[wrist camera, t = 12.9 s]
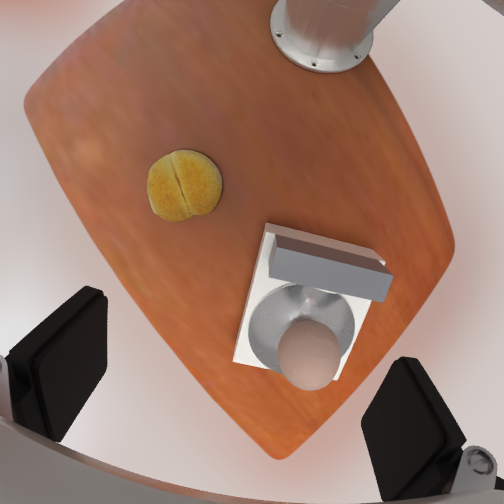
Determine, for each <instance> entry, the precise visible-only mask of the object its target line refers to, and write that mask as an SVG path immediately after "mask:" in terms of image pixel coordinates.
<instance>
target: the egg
mask: <svg viewBox="0 0 504 504" xmlns="http://www.w3.org/2000/svg"><path fill="white" fill-rule="evenodd" d="M340 361H341V350H340V345H339V342H338V340H337V337H336V336H335V334H334V332H333V331H332V330H331V329H330V328H329V327H327V326H326V325H324V324H322V323H320V322H317V321H314V320H305V321H300V322H297V323H295V324H293V325H292V326H291V327H289V328H288V329H287V330H286V331H285V332H284V334H283V335H282V337H281V339H280V342H279V345H278V362H279V366H280V369H281V371H282V373H283V374H284V376H285V377H286V378H287V379H288V380H289V381H290V382H291V383H292V384H293V385H295V386H296V387H298V388H300V389H303V390H308V391H313V390H318V389H321V388H323V387H325V386H326V385H328V384H329V383H330V382H331V381H332V379H333V378H334V376H335V375H336V373H337V371H338V368H339V366H340Z"/></svg>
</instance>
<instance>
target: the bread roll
mask: <svg viewBox="0 0 504 504" xmlns="http://www.w3.org/2000/svg"><path fill="white" fill-rule="evenodd" d="M221 190H222V178H221V174H220V172H219V170H218V168H217V167H216V166H215V164H214V163H213V162H212V161H211V160H210V159H209V158H208V157H206V156H205V155H203V154H201V153H198V152H195V151H192V150H178V151H174V152H172V153H170V154H168V155H165V156H164V157H162V158H160V159H159V160H158V161H157V162H155V163H154V164H153V165H152V167H151V168H150V170H149V172H148V178H147V193H148V195H149V200H150V203H151V207H152V209H153V211H154V213H156V214H158V215H159V216H160V217H161V218H163V219H165V220H167V221H172V222H180V221H184V220H186V219H188V218H190V217H191V216H193V215H206V214H209V213H210V212H211V211H212V210H213V209H214V208H215V206H216V205H217V203H218V201H219V198H220V195H221Z"/></svg>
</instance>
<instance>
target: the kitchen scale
mask: <svg viewBox="0 0 504 504" xmlns="http://www.w3.org/2000/svg"><path fill="white" fill-rule="evenodd" d="M384 265H385V261H384V260H383V259H382V258H381V257H380V256H379V255H378V254H377V253H376V252H375V251H374V250H373V249H369V248H365V247H362V246H358V245H354V244H350V243H346V242H343V241H339V240H335V239H331V238H327V237H323V236H319V235H315V234H311V233H307V232H303V231H299V230H295V229H291V228H287V227H283V226H279V225H275V224H271V223H267V222H266V224H265V228H264V232H263V236H262V240H261V244H260V248H259V252H258V256H257V260H256V264H255V268H254V272H253V276H252V280H251V284H250V288H249V292H248V296H247V300H246V304H245V308H244V311H243V315H242V319H241V323H240V327H239V331H238V335H237V339H236V344H235V350H234V357H233V362H237V363H242V364H246V365H251V366H256V367H261V368H266V369H269V368H268V367H266V366H265V365H264V364H263V363H261V362H260V361H259V360H258V358H257V357H256V356H255V354H254V353H253V351H252V349H251V347H250V343H249V338H248V328H249V322H250V318H251V315H252V313H253V311H254V309H255V307H256V306H257V304H258V303H259V302H260V301H261V300H262V299H263V297H265V296H266V295H267V294H268V293H270V292H271V291H273V290H274V289H276V288H278V287H280V286H283V285H286V284H289V283H296V284H300V285H304V286H309V287H313V288H316V289H318V290H321V291H324V292H327V293H333V294H339V293H340V294H341V295H342V296H343V297H344V299H345V300H346V301H347V303H348V304H349V306H350V308H351V310H352V313H353V316H354V319H355V333H354V337H353V340H352V343H351V345H350V347H349V349H348V350H347V352H346V353H345V354H344V355H343V357H342V358H341V361H340V366H339V368H338V371H337V373H336V375H335V376H334V378H333V379H332V380H337V379H338V377H339V375H340V373H341V371H342V369H343V366H344V364H345V362H346V360H347V358H348V355H349V353H350V351H351V349H352V346H353V344H354V342H355V340H356V337H357V335H358V333H359V330H360V328H361V325H362V323H363V321H364V318H365V316H366V313H367V311H368V308H369V306H370V303H371V301H372V300H373V301H377V302H382V303H384V300H385V298H386V295H387V292H388V290H389V287H390V285H391V282H392V279H393V277H394V275H393V274H392V273H391V272H390V271H389V270H388V269H387V268H386V267H385V266H384Z"/></svg>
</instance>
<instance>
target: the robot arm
mask: <svg viewBox="0 0 504 504" xmlns="http://www.w3.org/2000/svg"><path fill="white" fill-rule="evenodd" d="M399 1H400V0H279V1H278V2H277V3H276V5H275V6H274V9H273V11H272V13H271V19H270V29H271V34H272V38H273V40H274V42H275V44H276V46H277V47H278V49H279V50H280V52H281V53H282V54H283V55H284V56H285V57H286V58H287V59H289V60H290V61H292V62H293V63H294V64H296V65H298V66H300V67H302V68H304V69H307V70H310V71H313V72H318V73H324V74H326V73H339V72H344V71H347V70H349V69H352V68H353V67H355V66H357V65H358V64H359V63H361V62H362V61H363V60H364V59H365V57H366V56H367V55H368V53H369V52H370V49H371V47H372V43H373V29H374V28H375V27H376V26H377V25H378V24H379V23H380V22H381V20H382V19H383V18H384V17H385V16H386V15H387V14H388V13H389V12H390V11H391V10H392V9H393V7H394V6H395V5H396V4H397V3H398V2H399ZM482 1H484V2H485V3H486V4H488V5H489V6H491V7H492V8H493V9H495V10H496V11H497V12H499V13H500V14H502V15H503V16H504V0H482ZM277 35H280V36H281V37H277ZM354 56H356V57H357V58H358V59H356V58H355V57H354ZM312 64H315V65H316V66H315V67H313V66H312ZM107 310H108V299H107V297H106V296H104V294H103V291H102V290H99V289H96V288H92V287H89V286H84V287H83V288H82V289H80V290H79V291H78V292H77V293H76V294H74V295H73V296H72V297H71V298H70V299H68V300H67V301H66V302H65V303H63V304H62V305H61V306H60V307H59V308H58V309H56V310H55V311H54V312H53V313H52V314H50V315H49V316H48V317H47V318H46V319H45V320H44V321H43V322H41V323H40V324H39V325H38V326H37V327H35V328H34V329H33V330H32V331H31V332H30V333H29V334H27V335H26V336H25V337H24V338H23V339H22V340H21V341H20V342H19V343H18V344H16V345H15V346H14V347H13V348H12V349H11V350H10V351H9V354H8V355H7V356H6V357H5V358H3V356H1V355H0V504H303V503H286V502H274V501H264V500H255V499H248V498H240V497H234V496H228V495H222V494H216V493H211V492H206V491H200V490H196V489H191V488H187V487H183V486H179V485H175V484H171V483H167V482H163V481H160V480H156V479H152V478H149V477H146V476H142V475H139V474H136V473H133V472H130V471H126V470H124V469H121V468H118V467H115V466H112V465H110V464H107V463H104V462H102V461H99V460H97V459H94V458H92V457H89V456H86V455H84V454H81V453H79V452H77V451H74V450H72V449H69V448H67V447H65V446H63V445H61V444H58V443H59V442H61V441H62V439H63V438H64V436H65V434H66V433H67V431H68V430H69V428H70V426H71V425H72V423H73V422H74V420H75V419H76V417H77V415H78V414H79V412H80V410H81V409H82V407H83V406H84V404H85V403H86V401H87V400H88V398H89V397H90V395H91V394H92V392H93V391H94V389H95V388H96V386H97V384H98V383H99V381H100V380H101V378H102V377H103V375H104V374H105V372H106V369H107V312H108V311H107ZM361 427H362V431H363V434H364V437H365V441H366V444H367V448H368V451H369V455H370V458H371V462H372V466H373V469H374V473H375V476H376V480H377V484H378V487H379V492H380V495H381V499H382V501H383V502H379V503H362V504H504V479H502V478H500V477H498V476H496V475H497V463H496V460H495V458H494V457H493V455H492V454H491V453H490V452H489V451H487V450H486V449H484V448H482V447H479V446H469V447H467V448H466V449H465V450H464V451H463V450H462V448H461V447H462V445H463V444H464V443H465V442H466V438H465V436H464V434H463V432H462V431H461V429H460V427H459V426H458V424H457V423H456V420H455V419H454V417H453V415H452V413H451V412H450V410H449V408H448V407H447V405H446V403H445V402H444V400H443V398H442V397H441V395H440V394H439V392H438V391H437V389H436V387H435V385H434V384H433V382H432V381H431V379H430V378H429V376H428V374H427V373H426V371H425V370H424V368H423V366H422V365H421V363H420V362H419V360H418V359H416V358H411V357H400V358H399V359H398V360H395V361H394V362H393V364H392V365H391V367H390V369H389V371H388V373H387V375H386V377H385V379H384V381H383V383H382V384H381V386H380V388H379V390H378V391H377V393H376V395H375V397H374V398H373V400H372V402H371V403H370V405H369V407H368V409H367V410H366V412H365V414H364V415H363V417H362V420H361ZM56 442H58V443H56Z"/></svg>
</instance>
